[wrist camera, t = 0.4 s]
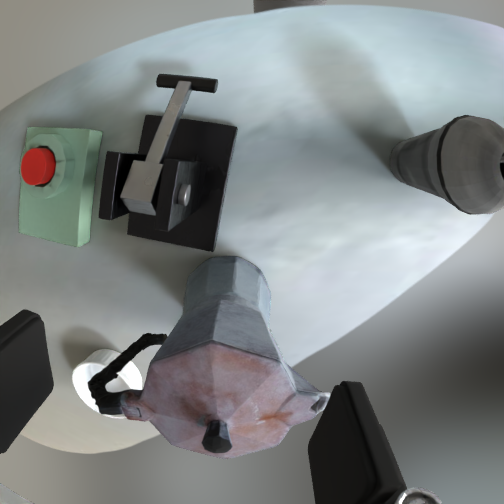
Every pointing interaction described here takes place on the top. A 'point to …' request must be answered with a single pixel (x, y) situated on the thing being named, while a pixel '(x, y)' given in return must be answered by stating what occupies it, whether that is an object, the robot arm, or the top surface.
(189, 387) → the moka pot
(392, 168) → the beverage cup
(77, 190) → the control block
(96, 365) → the ramekin
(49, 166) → the stop button
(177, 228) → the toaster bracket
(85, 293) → the top surface
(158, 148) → the lever
